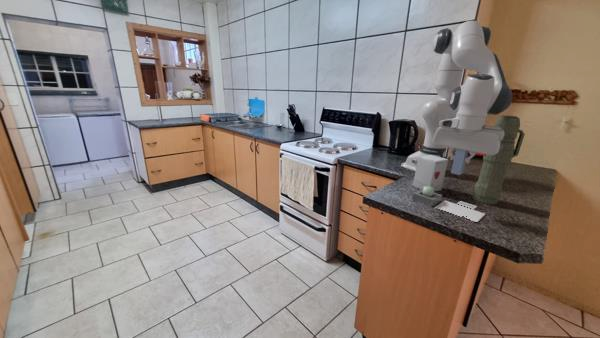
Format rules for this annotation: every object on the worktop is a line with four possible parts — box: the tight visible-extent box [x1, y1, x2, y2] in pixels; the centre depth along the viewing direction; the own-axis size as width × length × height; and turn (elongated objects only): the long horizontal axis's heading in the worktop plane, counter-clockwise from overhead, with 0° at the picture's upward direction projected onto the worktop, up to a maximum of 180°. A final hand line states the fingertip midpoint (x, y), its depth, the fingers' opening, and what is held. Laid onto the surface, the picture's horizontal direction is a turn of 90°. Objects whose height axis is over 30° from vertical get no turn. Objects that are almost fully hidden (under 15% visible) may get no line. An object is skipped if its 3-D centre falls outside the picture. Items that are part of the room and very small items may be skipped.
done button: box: [422, 186, 435, 198], centre depth 99 cm, size 4×4×4 cm
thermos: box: [471, 115, 525, 206], centre depth 96 cm, size 9×12×35 cm
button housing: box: [411, 189, 443, 207], centre depth 100 cm, size 8×8×3 cm
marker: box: [450, 149, 469, 176], centre depth 89 cm, size 3×3×10 cm
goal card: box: [456, 200, 478, 210], centre depth 97 cm, size 6×4×1 cm, turn 39°
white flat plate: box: [434, 200, 486, 223], centre depth 92 cm, size 14×10×1 cm
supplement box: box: [412, 155, 449, 193], centre depth 111 cm, size 9×9×15 cm
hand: (459, 161), depth 89 cm, fingers closed on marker, 3 cm apart
